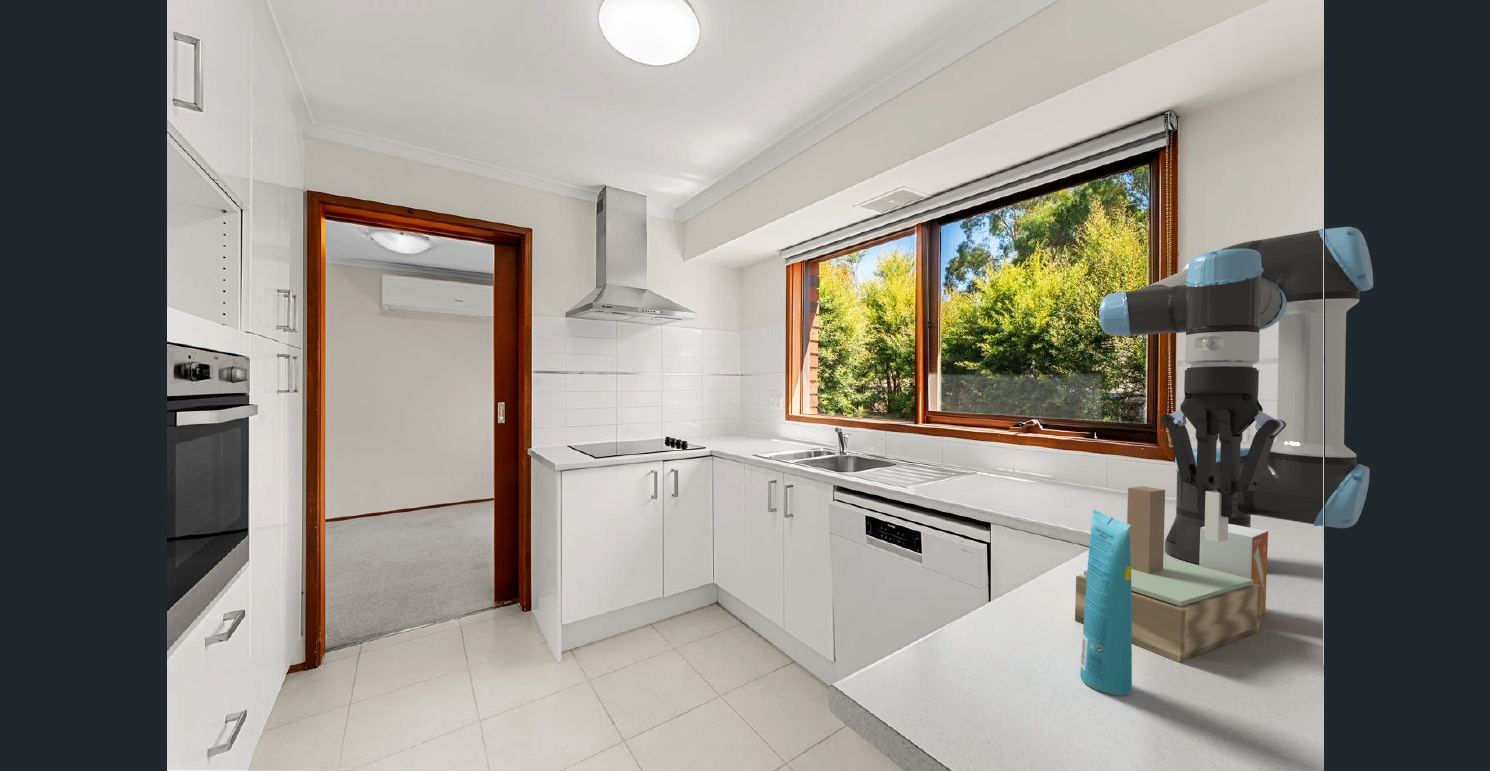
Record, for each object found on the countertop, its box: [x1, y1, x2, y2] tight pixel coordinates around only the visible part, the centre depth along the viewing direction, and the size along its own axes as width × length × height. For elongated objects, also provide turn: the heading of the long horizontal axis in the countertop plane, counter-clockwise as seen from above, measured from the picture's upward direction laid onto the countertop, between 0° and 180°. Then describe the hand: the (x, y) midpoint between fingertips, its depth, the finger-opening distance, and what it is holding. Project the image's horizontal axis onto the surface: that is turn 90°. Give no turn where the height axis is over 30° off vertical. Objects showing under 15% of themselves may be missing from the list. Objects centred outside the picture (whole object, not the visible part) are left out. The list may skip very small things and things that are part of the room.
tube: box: [1079, 508, 1133, 696], centre depth 61 cm, size 7×5×19 cm, turn 178°
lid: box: [1083, 485, 1253, 606], centre depth 77 cm, size 20×12×13 cm, turn 117°
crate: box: [1074, 574, 1261, 664], centre depth 77 cm, size 22×13×6 cm, turn 117°
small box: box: [1198, 524, 1269, 617], centre depth 83 cm, size 8×6×13 cm
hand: (1216, 539), depth 72 cm, fingers closed
